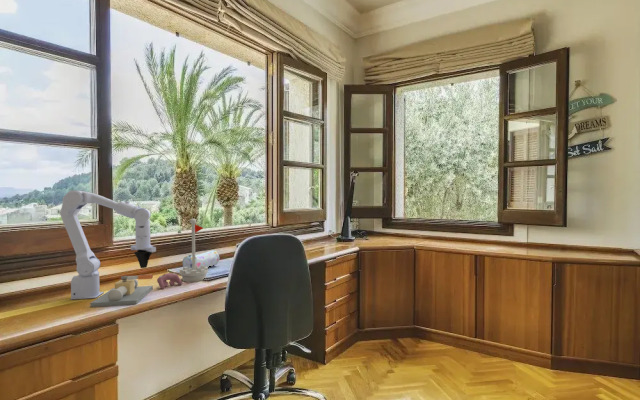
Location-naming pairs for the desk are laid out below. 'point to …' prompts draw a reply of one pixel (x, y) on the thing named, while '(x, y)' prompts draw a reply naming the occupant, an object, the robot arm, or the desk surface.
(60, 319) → the desk surface
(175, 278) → the pink animal figurine
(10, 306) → the desk surface
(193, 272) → the flag stand
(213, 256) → the pencil case
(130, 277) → the valve lever
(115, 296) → the valve board
